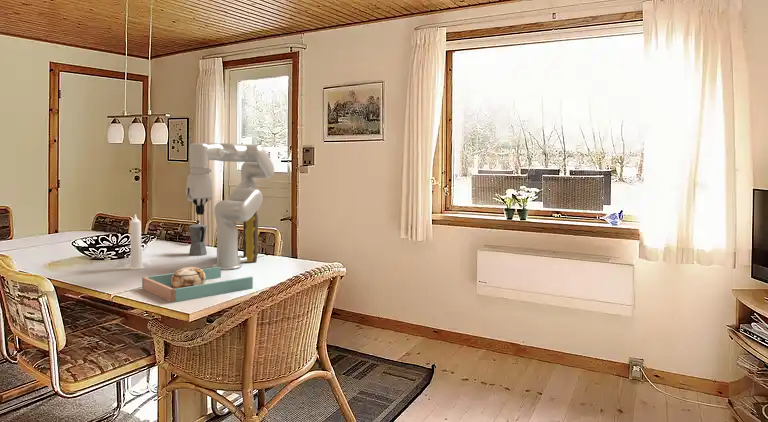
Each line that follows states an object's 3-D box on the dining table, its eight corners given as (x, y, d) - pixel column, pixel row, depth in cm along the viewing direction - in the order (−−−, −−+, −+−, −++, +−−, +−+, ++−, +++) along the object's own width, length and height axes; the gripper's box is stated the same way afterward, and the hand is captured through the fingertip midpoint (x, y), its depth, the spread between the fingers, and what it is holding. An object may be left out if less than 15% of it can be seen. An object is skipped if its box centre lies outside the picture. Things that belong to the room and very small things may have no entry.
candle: (138, 270, 246) (137, 215, 243) (124, 269, 247) (123, 214, 245) (148, 267, 253) (147, 213, 250) (134, 266, 254) (133, 213, 252)
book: (258, 262, 270) (258, 212, 268) (240, 263, 269) (240, 212, 266) (259, 254, 292) (259, 208, 289) (242, 254, 290) (242, 208, 288)
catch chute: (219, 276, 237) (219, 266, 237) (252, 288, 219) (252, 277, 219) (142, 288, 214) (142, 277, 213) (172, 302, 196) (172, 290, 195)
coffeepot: (185, 253, 291) (184, 219, 289) (202, 251, 296) (202, 218, 295) (194, 257, 279) (194, 222, 277) (212, 256, 284) (212, 221, 282)
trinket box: (172, 292, 209) (171, 272, 209) (169, 284, 223) (169, 265, 222) (208, 290, 215) (208, 270, 214) (204, 281, 229) (203, 263, 228)
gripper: (210, 171, 242) (211, 212, 244) (178, 171, 232) (179, 214, 234) (219, 172, 237) (220, 214, 239) (187, 172, 226) (187, 216, 228)
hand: (200, 214), depth 236 cm, fingers closed
